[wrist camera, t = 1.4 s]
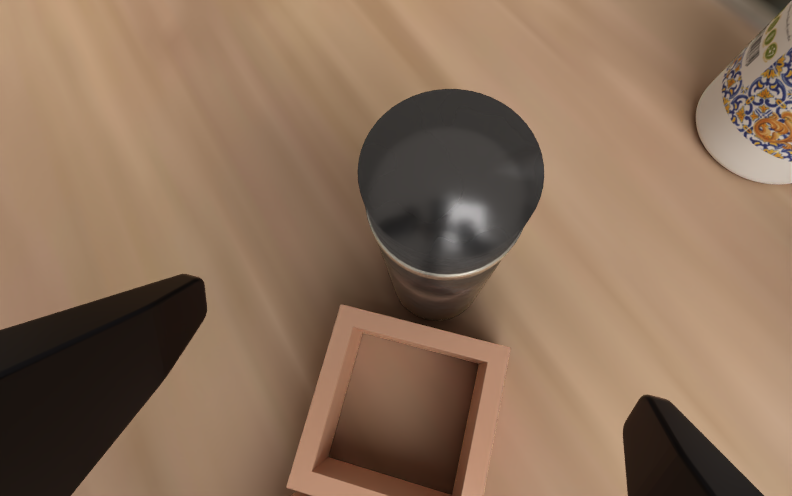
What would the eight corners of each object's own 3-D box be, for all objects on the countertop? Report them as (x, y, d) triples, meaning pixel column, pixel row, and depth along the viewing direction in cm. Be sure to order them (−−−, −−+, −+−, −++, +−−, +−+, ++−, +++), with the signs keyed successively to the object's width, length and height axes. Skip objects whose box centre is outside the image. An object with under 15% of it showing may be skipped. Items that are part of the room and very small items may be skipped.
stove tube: (470, 331, 21) (528, 280, 9) (381, 309, 21) (332, 234, 10) (488, 246, 22) (560, 105, 10) (404, 226, 22) (383, 73, 11)
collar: (466, 520, 18) (473, 547, 16) (306, 470, 19) (286, 487, 17) (498, 351, 20) (511, 347, 17) (351, 313, 21) (340, 304, 18)
